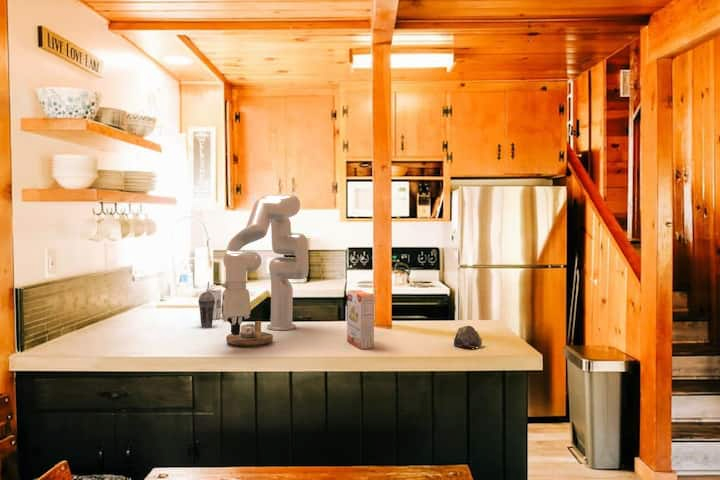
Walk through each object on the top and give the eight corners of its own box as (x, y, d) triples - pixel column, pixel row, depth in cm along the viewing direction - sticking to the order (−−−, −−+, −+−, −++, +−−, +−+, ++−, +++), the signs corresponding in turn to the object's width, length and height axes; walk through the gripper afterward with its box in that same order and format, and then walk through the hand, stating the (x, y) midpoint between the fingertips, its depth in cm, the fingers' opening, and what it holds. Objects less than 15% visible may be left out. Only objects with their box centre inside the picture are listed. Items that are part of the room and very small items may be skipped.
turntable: (219, 337, 231) (219, 316, 231) (261, 333, 241) (261, 313, 241) (236, 347, 216) (237, 324, 216) (280, 341, 226) (280, 320, 226)
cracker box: (345, 341, 234) (346, 290, 233) (359, 340, 236) (360, 289, 235) (359, 349, 221) (360, 295, 220) (374, 348, 224) (375, 294, 223)
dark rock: (475, 350, 222) (463, 325, 224) (455, 357, 227) (444, 333, 229) (486, 344, 231) (475, 320, 233) (467, 351, 236) (456, 328, 238)
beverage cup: (194, 327, 257) (194, 282, 256) (204, 324, 264) (205, 280, 263) (208, 329, 254) (208, 283, 253) (218, 326, 261) (218, 281, 260)
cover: (238, 335, 229) (238, 323, 229) (254, 333, 233) (254, 321, 233) (245, 339, 223) (245, 326, 223) (262, 337, 227) (262, 324, 227)
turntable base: (231, 341, 230) (231, 339, 230) (257, 338, 236) (257, 336, 236) (242, 347, 221) (242, 345, 221) (268, 344, 227) (268, 341, 227)
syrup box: (209, 317, 281) (209, 287, 281) (221, 318, 280) (221, 288, 280) (204, 319, 276) (204, 289, 275) (216, 320, 275) (216, 289, 274)
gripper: (220, 288, 210) (219, 338, 211) (258, 286, 218) (258, 334, 219) (212, 286, 216) (212, 334, 217) (250, 283, 224) (250, 331, 225)
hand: (235, 334), depth 218 cm, fingers closed
